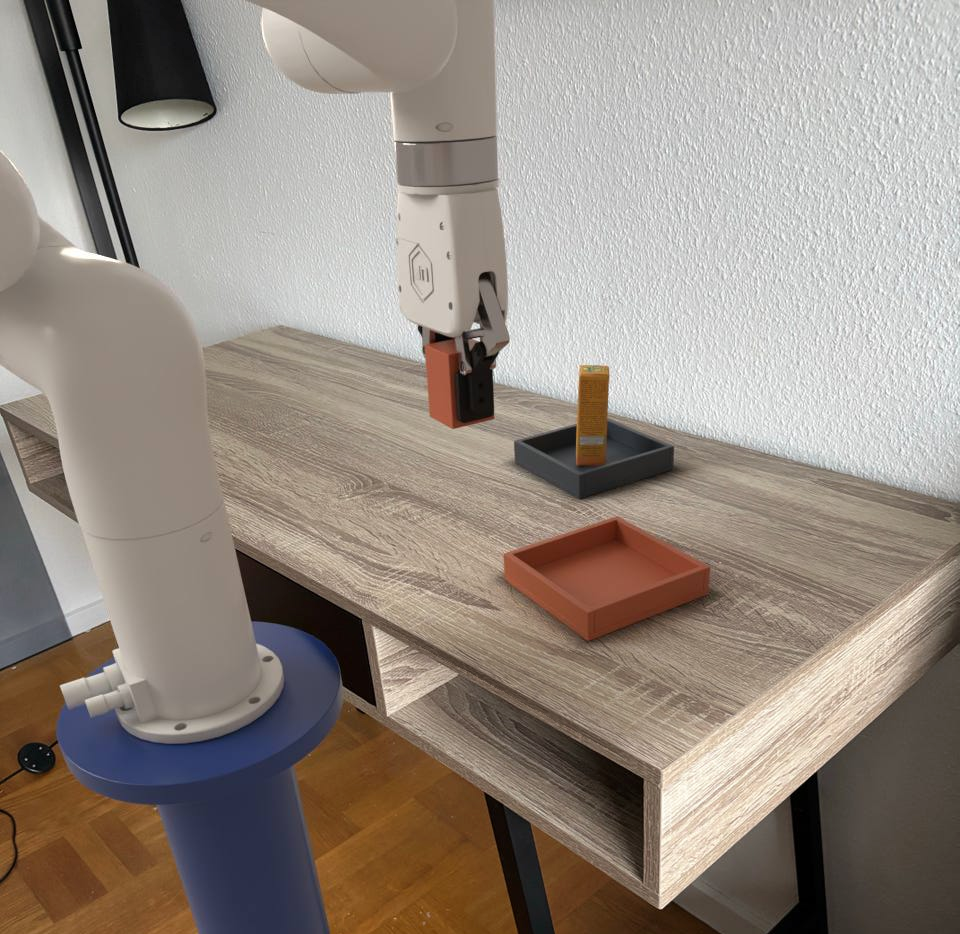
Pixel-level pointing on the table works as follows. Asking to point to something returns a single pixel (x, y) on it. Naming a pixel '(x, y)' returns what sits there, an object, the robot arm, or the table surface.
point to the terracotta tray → (605, 576)
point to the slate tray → (624, 464)
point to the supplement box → (592, 415)
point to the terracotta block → (444, 382)
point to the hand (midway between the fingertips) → (461, 409)
